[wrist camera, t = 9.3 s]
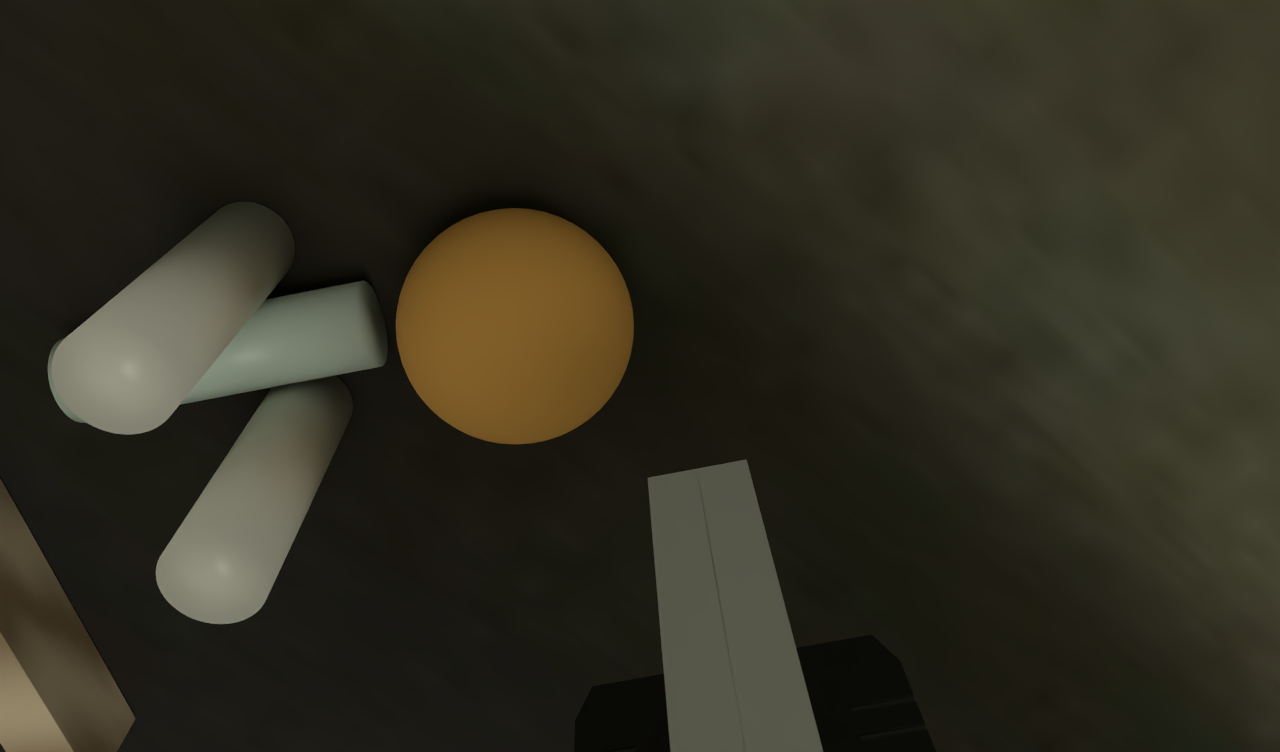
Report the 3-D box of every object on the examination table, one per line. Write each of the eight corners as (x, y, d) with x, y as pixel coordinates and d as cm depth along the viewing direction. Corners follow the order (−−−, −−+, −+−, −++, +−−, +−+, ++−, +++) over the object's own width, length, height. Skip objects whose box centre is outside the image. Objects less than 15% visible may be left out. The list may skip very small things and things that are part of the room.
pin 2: (363, 429, 30) (284, 613, 22) (287, 444, 30) (181, 632, 22) (337, 359, 29) (244, 525, 21) (258, 374, 29) (137, 547, 21)
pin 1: (307, 275, 28) (197, 422, 20) (225, 292, 28) (84, 444, 20) (277, 193, 26) (148, 314, 19) (191, 211, 27) (29, 338, 19)
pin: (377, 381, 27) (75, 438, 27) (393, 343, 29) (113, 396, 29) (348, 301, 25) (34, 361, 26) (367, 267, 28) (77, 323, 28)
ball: (635, 490, 24) (390, 493, 24) (637, 368, 29) (435, 370, 29) (628, 265, 21) (349, 269, 21) (632, 173, 26) (408, 176, 26)
